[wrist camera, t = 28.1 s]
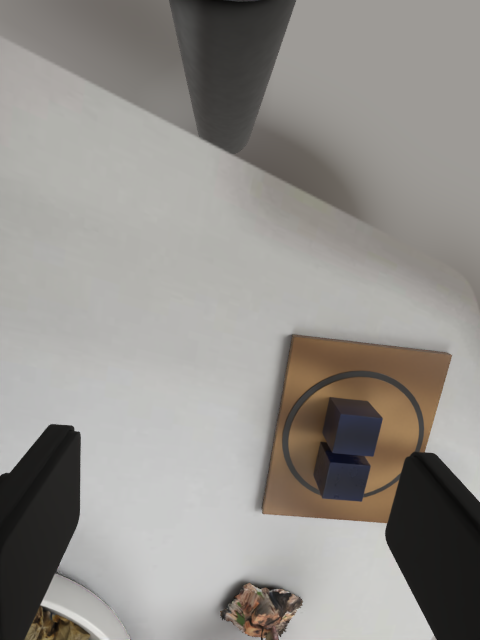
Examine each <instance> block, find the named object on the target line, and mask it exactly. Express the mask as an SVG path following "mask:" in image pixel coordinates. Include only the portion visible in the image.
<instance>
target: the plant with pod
mask: <svg viewBox="0 0 480 640" xmlns="http://www.w3.org/2000/svg"><path fill="white" fill-rule="evenodd" d="M242 587H243V588H244V589H243V590H240V594H239V595H237V596H235V598H236V599H238V600H235V599H233V600H234V601H235V602H236V603H235V602H234V601H232V605H231V604H229V603H228V606H227V608H228V609H226V610H225V609H223V611H220V613H221V614H220V616H221V618H222V620H223V619H224V620H226V621H231V622H233V625H235V626H237V627H238V628H239V630H242V633H243V632H245V634H248V636H252V637H261V640H263V638H266V640H279V638H278V634H279V636H280V637H281V634H283V631H285V629H286V628H285V627H286V626H287V623H289V621H290V620H291V619H292V616H294V615H295V614H294V613H296V612H295V611H297V610H296V609H298V608H301V607H300V606H302V602H303V601H302V599H300V597H299V596H298V597H299V598H298V597H297V596H296V597H295V594H291V593H289V591H285V590H284V589H282V590H281V589H273V590H271V591H269V590H268V589H267V588H262V589H259V588H258V587H256V588H255V586H254V585H252V584H251V583H248V584H246V585H244V586H242ZM285 632H286V631H285Z"/></svg>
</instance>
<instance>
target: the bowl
mask: <svg viewBox="0 0 480 640" xmlns="http://www.w3.org/2000/svg"><path fill="white" fill-rule="evenodd" d="M24 640H131V639H130V637H129V635H128V633H127V631H126V629H125V627H124V626H123V624H122V623H121V621H120V620H119V618H118V617H117V616H116V614H115V613H114V612H113V611H112V610H111V609H110V608H109V606H108V605H107V604H106V603H104V602H103V601H102V600H101V599H100V598H99V597H97V596H96V595H95V594H94V593H92V592H91V591H89V590H88V589H86V588H85V587H83V586H82V585H80V584H78V583H76V582H74V581H72V580H70V579H68V578H66V577H63V576H61V575H58V574H55V575H54V577H53V579H52V581H51V583H50V585H49V588H48V590H47V592H46V594H45V596H44V598H43V601H42V603H41V605H40V607H39V609H38V611H37V614H36V616H35V618H34V620H33V622H32V624H31V627H30V629H29V631H28V633H27V635H26V637H25V639H24Z"/></svg>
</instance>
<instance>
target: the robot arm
mask: <svg viewBox="0 0 480 640" xmlns="http://www.w3.org/2000/svg"><path fill="white" fill-rule="evenodd" d="M80 447H81V436H80V432H76V431H74V427H73V426H69V425H56V424H51V425H49V426H48V427H47V428H46V430H45V431H44V432H43V433H42V435H41V436H40V437H39V438H38V439H37V441H36V442H35V443H34V444H33V445H32V447H31V448H30V449H29V450H28V452H27V453H26V454H25V455H24V456H23V458H22V459H21V460H20V461H19V462H18V464H17V465H16V466H15V467H14V469H13V470H12V471H11V472H10V473H5V474H2V475H1V476H0V640H24V639H25V637H26V635H27V633H28V631H29V629H30V627H31V624H32V622H33V620H34V618H35V616H36V614H37V611H38V609H39V607H40V605H41V603H42V601H43V598H44V596H45V594H46V592H47V590H48V588H49V585H50V583H51V581H52V579H53V577H54V575H55V572H56V570H57V568H58V566H59V564H60V562H61V560H62V557H63V555H64V553H65V551H66V549H67V547H68V544H69V542H70V540H71V538H72V536H73V534H74V531H75V529H76V527H77V524H78V520H79V515H80ZM385 536H386V541H387V544H388V546H389V548H390V550H391V552H392V554H393V556H394V558H395V560H396V562H397V564H398V566H399V568H400V570H401V572H402V574H403V575H404V577H405V579H406V581H407V583H408V585H409V587H410V589H411V591H412V593H413V595H414V597H415V599H416V601H417V603H418V605H419V606H420V608H421V610H422V612H423V614H424V616H425V618H426V620H427V622H428V624H429V626H430V628H431V630H432V632H433V634H434V636H435V637H436V639H437V640H480V502H479V501H478V500H477V499H476V498H475V496H474V495H473V494H472V493H471V492H470V491H469V490H468V489H467V488H466V487H465V486H464V484H463V483H462V482H461V481H460V480H459V479H458V478H457V477H456V476H455V475H454V474H453V473H452V471H451V470H450V469H449V468H448V467H447V466H446V465H445V464H444V463H443V462H442V461H441V459H440V458H439V457H438V456H437V455H435V454H434V453H425V452H412V454H411V455H410V456H408V457H406V458H405V461H404V464H403V468H402V471H401V475H400V479H399V482H398V486H397V490H396V493H395V497H394V501H393V504H392V508H391V512H390V515H389V519H388V523H387V526H386V531H385Z"/></svg>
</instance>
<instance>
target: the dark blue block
mask: <svg viewBox="0 0 480 640" xmlns="http://www.w3.org/2000/svg"><path fill="white" fill-rule="evenodd" d="M370 468H371V465H370V464H369V462H368V461H367V459H366V458H365V456H360V455H349V454H337V453H332V451H331V449H330V447H329V446H328V444H327V442H320V446H319V450H318V455H317V460H316V465H315V470H314V474H313V476H314V478H315V481H316V484H317V486H318V489H319V491H320V494H321V497H322V499H333V500H345V501H358V502H362V500H363V496H364V492H365V488H366V484H367V480H368V476H369V472H370Z"/></svg>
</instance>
